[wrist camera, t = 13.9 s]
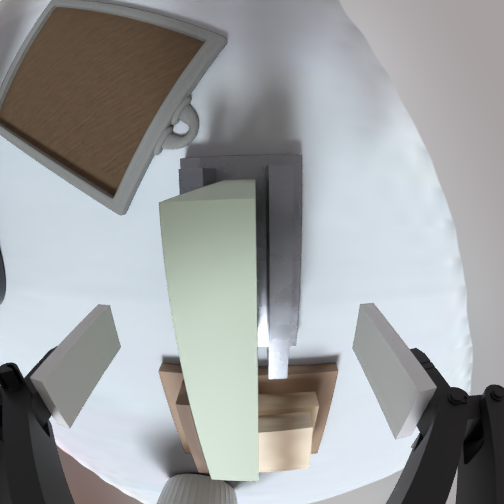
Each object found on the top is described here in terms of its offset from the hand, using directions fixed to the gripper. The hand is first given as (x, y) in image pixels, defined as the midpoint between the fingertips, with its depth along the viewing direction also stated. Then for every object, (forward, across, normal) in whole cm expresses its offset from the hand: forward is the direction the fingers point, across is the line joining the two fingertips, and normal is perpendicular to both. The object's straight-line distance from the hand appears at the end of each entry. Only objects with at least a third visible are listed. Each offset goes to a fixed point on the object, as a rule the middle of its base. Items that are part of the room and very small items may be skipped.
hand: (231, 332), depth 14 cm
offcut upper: (+9, +4, -22) cm, 24 cm away
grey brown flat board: (+14, -16, +19) cm, 28 cm away
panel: (+11, 0, 0) cm, 11 cm away
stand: (+13, 0, 0) cm, 13 cm away
